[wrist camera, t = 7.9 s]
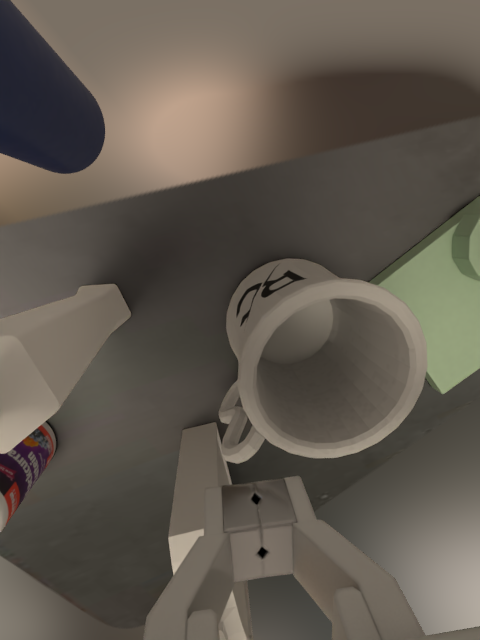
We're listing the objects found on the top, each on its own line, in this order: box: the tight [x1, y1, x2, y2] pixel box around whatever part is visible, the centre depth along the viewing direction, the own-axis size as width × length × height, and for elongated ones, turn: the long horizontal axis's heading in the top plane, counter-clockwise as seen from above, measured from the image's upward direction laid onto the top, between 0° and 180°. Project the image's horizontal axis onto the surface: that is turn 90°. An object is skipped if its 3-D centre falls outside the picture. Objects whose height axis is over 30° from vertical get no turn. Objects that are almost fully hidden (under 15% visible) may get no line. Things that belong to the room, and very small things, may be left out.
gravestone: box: [168, 422, 253, 640], centre depth 19 cm, size 3×9×18 cm, turn 12°
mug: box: [218, 258, 428, 464], centre depth 20 cm, size 12×9×10 cm
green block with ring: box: [368, 196, 480, 394], centre depth 23 cm, size 11×11×3 cm
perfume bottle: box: [0, 284, 131, 454], centre depth 15 cm, size 5×4×15 cm
